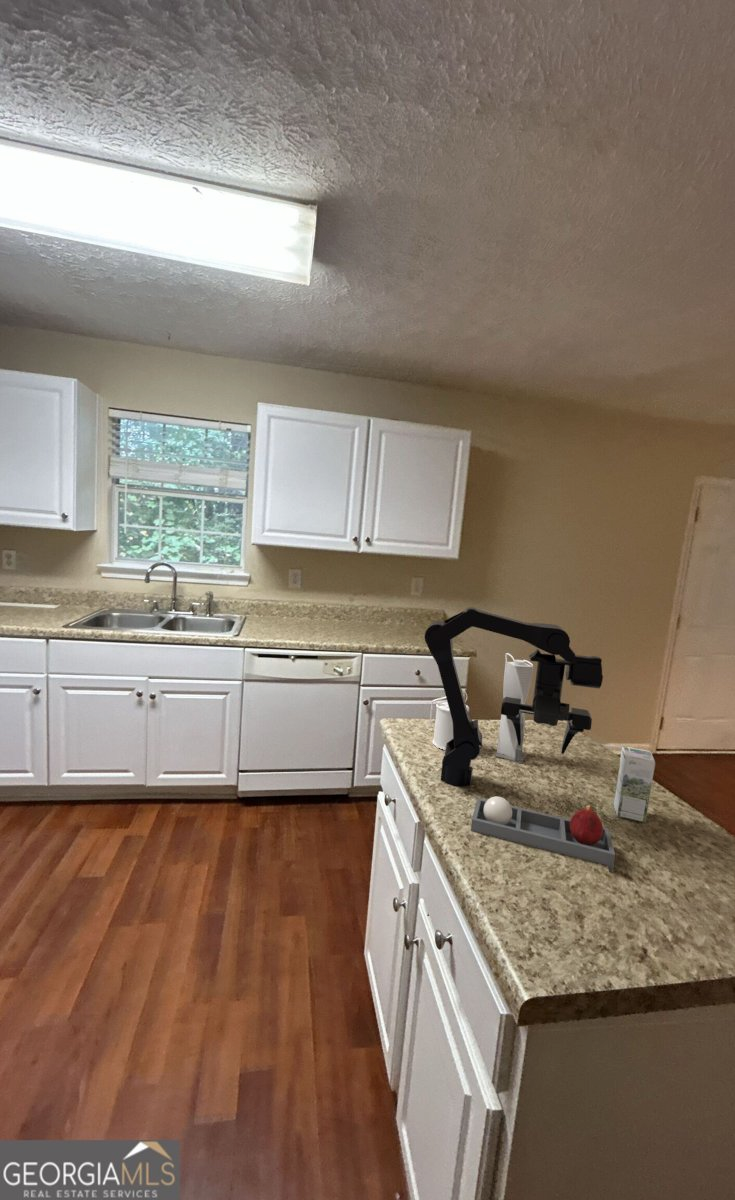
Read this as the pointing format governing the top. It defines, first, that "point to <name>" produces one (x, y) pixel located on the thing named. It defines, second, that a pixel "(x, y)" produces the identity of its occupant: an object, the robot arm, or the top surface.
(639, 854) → the top surface
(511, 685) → the skyscraper
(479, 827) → the egg tray
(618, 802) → the syrup box
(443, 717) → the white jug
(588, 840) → the onion
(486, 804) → the ceramic egg
